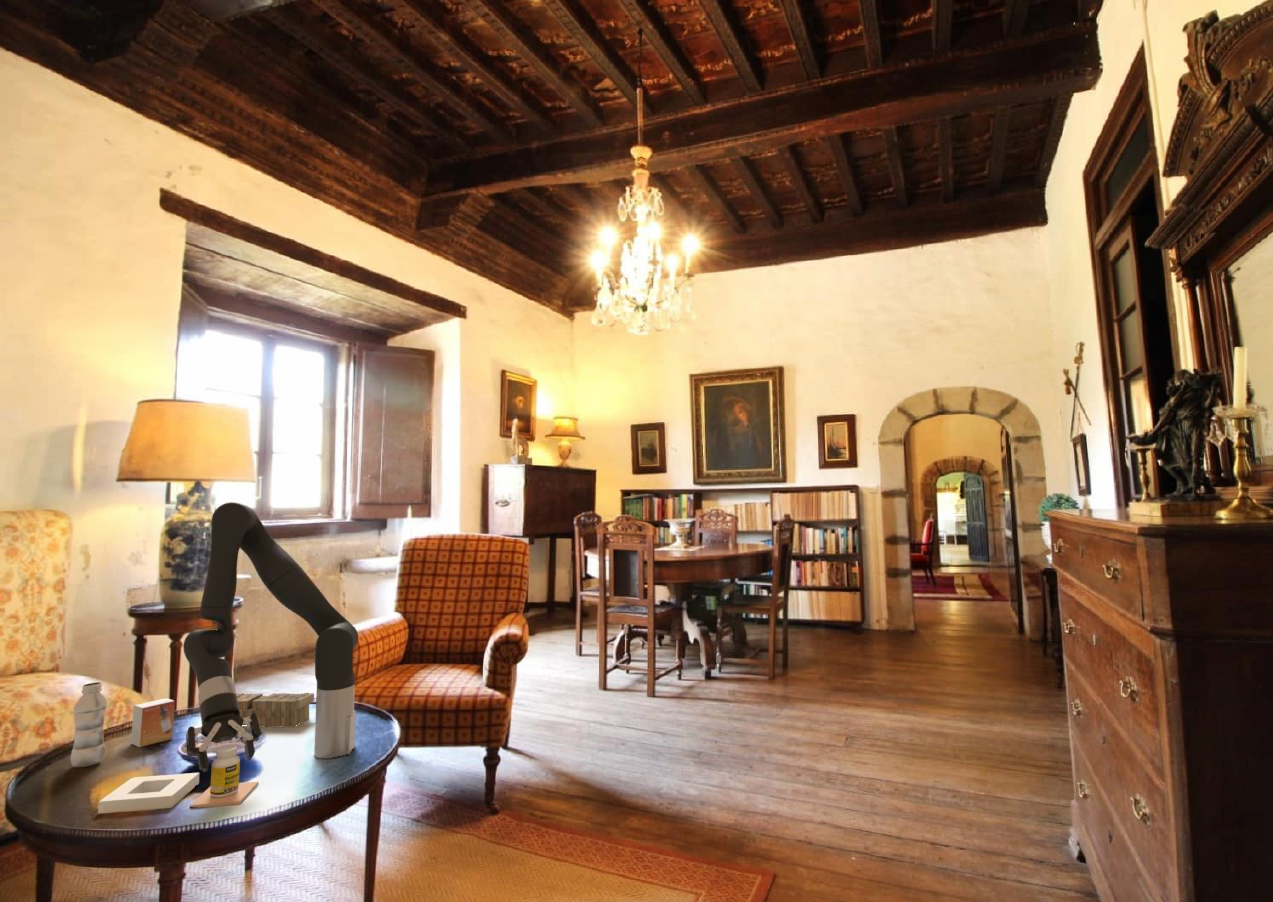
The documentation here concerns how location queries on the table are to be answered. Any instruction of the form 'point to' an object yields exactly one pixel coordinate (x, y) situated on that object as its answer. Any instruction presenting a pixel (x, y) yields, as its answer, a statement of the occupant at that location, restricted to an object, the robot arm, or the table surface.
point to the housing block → (149, 793)
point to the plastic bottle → (89, 726)
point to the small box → (152, 722)
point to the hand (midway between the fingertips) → (228, 764)
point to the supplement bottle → (225, 772)
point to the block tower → (276, 708)
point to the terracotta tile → (235, 798)
